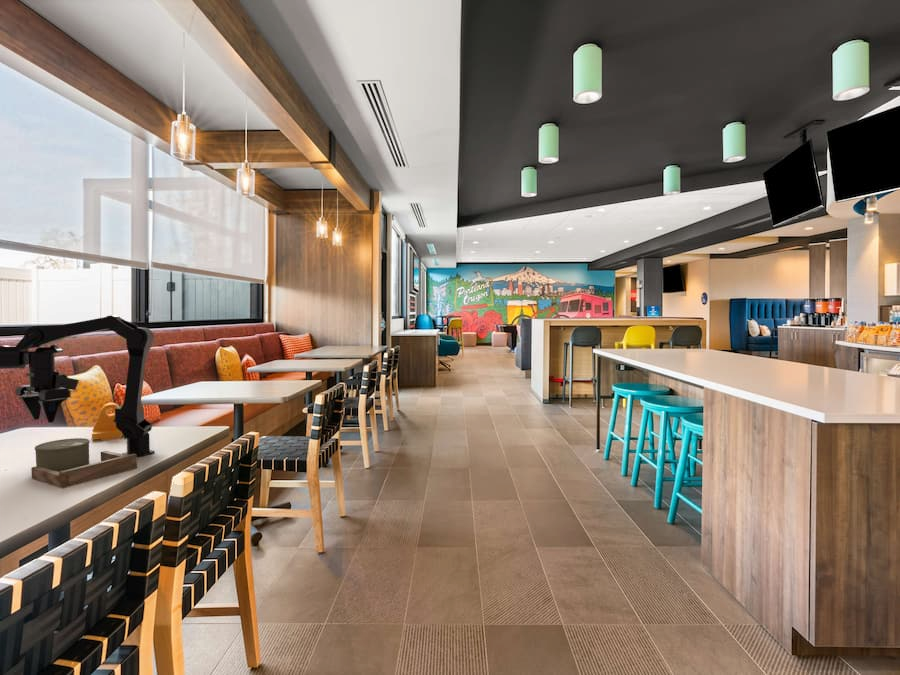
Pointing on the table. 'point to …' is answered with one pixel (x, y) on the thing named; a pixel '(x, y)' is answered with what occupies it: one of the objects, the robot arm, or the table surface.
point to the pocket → (86, 470)
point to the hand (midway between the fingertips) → (43, 420)
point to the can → (63, 454)
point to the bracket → (106, 425)
